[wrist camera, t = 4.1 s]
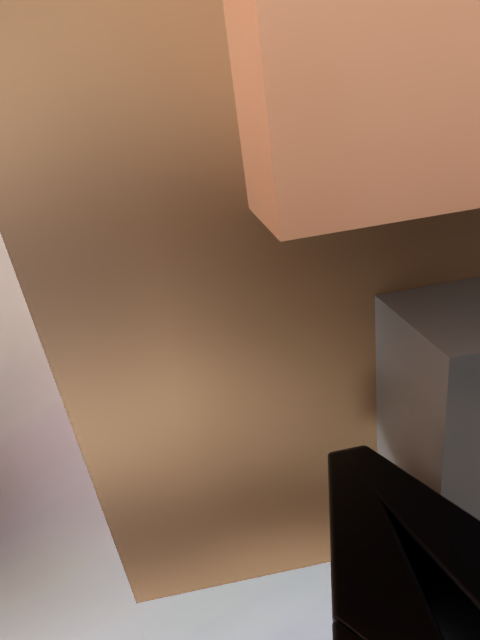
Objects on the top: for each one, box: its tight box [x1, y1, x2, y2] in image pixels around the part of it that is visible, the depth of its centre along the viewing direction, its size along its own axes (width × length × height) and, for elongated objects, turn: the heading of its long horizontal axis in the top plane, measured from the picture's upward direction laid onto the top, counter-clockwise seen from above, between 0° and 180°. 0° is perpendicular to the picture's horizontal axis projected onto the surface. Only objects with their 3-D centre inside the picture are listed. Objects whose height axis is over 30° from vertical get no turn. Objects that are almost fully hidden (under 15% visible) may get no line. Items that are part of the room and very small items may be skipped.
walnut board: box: [0, 0, 480, 603], centre depth 9 cm, size 16×12×2 cm
